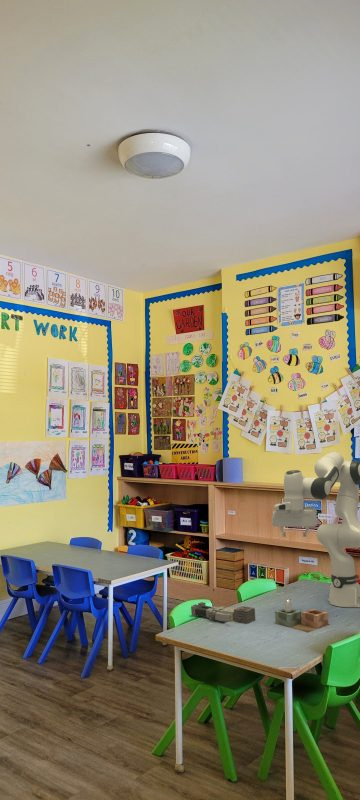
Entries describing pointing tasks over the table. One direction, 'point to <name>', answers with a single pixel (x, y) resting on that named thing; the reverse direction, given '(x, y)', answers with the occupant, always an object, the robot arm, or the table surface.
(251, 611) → the toy figure
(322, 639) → the table surface
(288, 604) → the metal pin
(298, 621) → the dock board
